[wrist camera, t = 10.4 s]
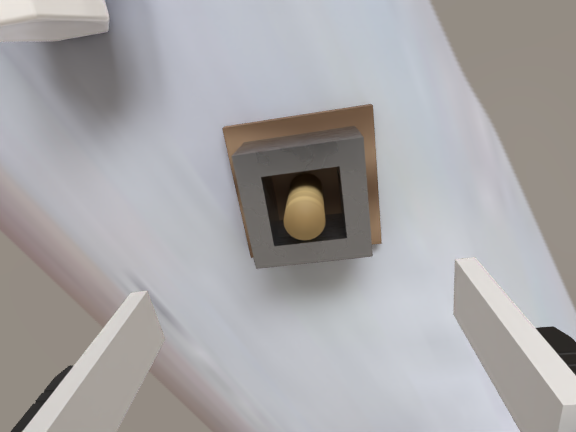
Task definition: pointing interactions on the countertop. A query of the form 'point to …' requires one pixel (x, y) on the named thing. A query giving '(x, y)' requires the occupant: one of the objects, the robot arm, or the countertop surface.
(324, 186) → the keeper
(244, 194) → the grey hollow block
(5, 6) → the jar
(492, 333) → the robot arm
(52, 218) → the countertop surface
